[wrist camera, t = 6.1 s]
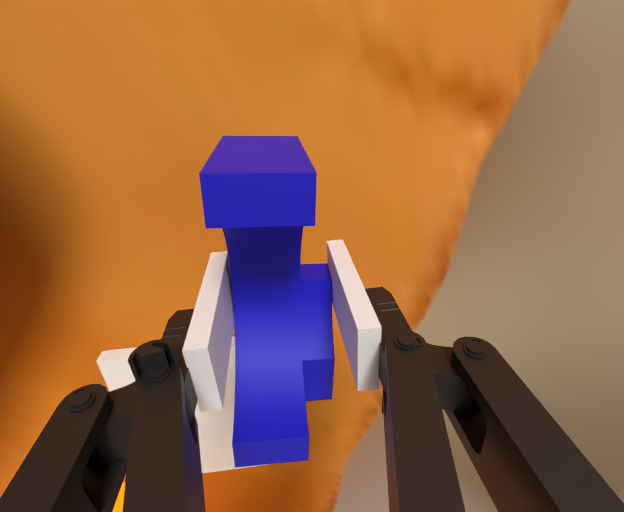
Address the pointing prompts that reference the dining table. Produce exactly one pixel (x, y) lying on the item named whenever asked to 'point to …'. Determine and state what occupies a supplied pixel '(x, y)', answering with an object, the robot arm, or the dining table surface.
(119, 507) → the orange juice
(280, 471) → the dining table surface
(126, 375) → the white pad
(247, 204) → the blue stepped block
